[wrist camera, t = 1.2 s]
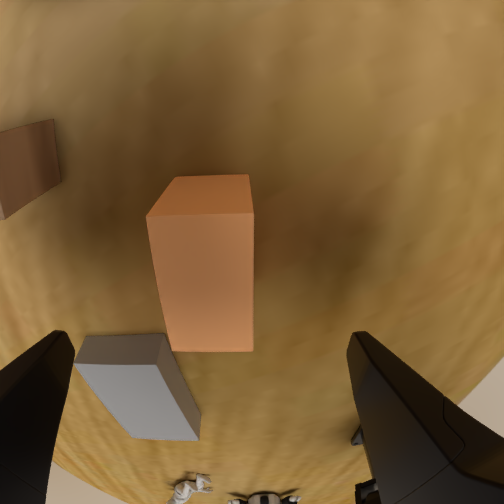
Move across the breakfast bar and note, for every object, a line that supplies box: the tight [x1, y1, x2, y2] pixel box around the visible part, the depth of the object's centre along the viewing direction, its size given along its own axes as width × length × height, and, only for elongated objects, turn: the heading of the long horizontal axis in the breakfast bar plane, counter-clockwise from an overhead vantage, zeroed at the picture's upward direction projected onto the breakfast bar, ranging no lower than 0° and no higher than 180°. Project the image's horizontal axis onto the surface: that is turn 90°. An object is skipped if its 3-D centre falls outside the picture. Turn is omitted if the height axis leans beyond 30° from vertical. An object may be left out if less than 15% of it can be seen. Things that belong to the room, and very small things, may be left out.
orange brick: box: [146, 174, 254, 352], centre depth 13 cm, size 6×3×5 cm, turn 0°
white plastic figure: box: [166, 474, 213, 504], centre depth 31 cm, size 8×5×12 cm
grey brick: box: [73, 333, 201, 441], centre depth 19 cm, size 10×6×3 cm, turn 7°
